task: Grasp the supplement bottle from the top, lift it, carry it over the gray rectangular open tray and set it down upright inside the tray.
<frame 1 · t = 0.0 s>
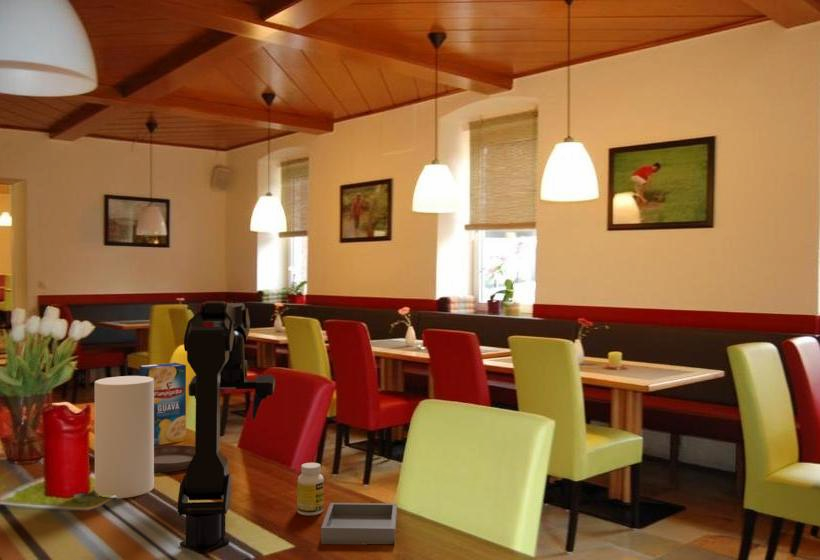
hand: (233, 419, 163), 15 cm above the table, tool pointing down, fingers open, 9 cm apart
supplement bottle: (310, 512, 147), on the table
gray rectangular open tray: (360, 530, 137), on the table
beverage box: (162, 441, 204), on the table
plant saucer: (170, 465, 181), on the table
cylinder: (124, 490, 160), on the table
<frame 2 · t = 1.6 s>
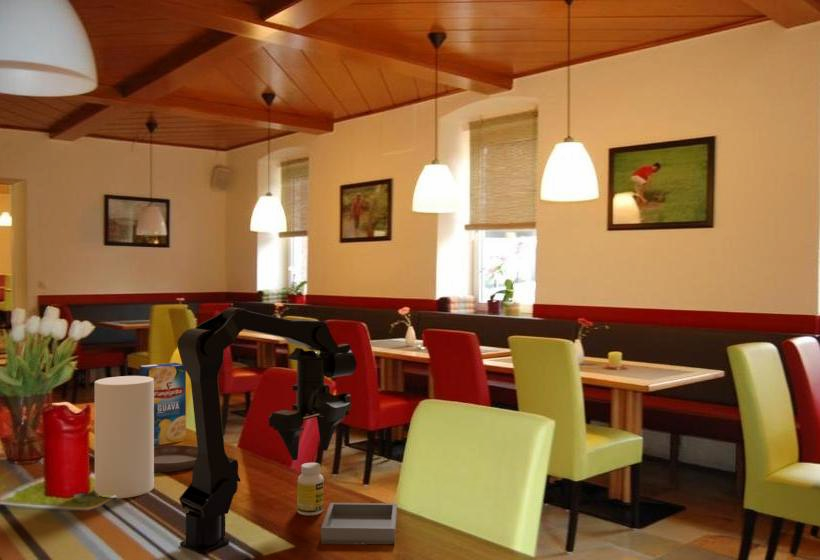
hand: (310, 455, 147), 12 cm above the table, tool pointing down, fingers open, 9 cm apart
nothing on the table moved.
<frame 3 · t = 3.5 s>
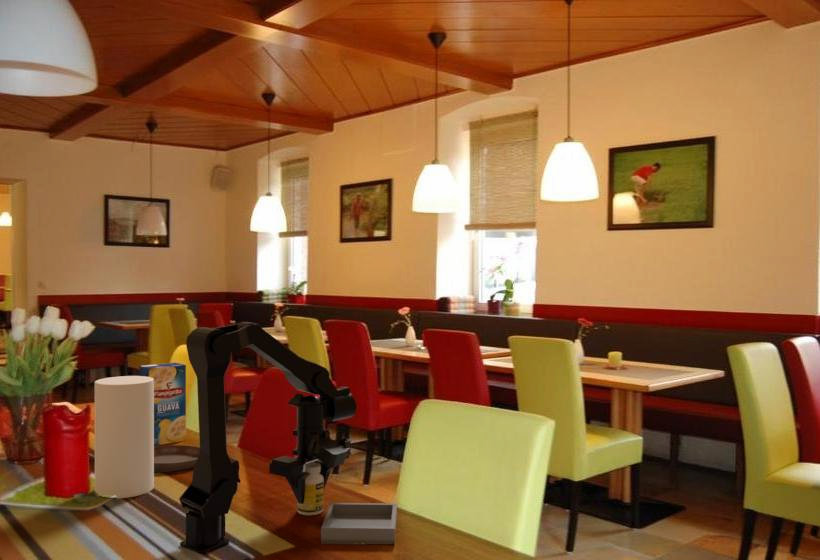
hand: (310, 499, 147), 3 cm above the table, tool pointing down, fingers closed on supplement bottle, 5 cm apart
supplement bottle: (310, 512, 147), on the table, touching gripper
everything else where it was.
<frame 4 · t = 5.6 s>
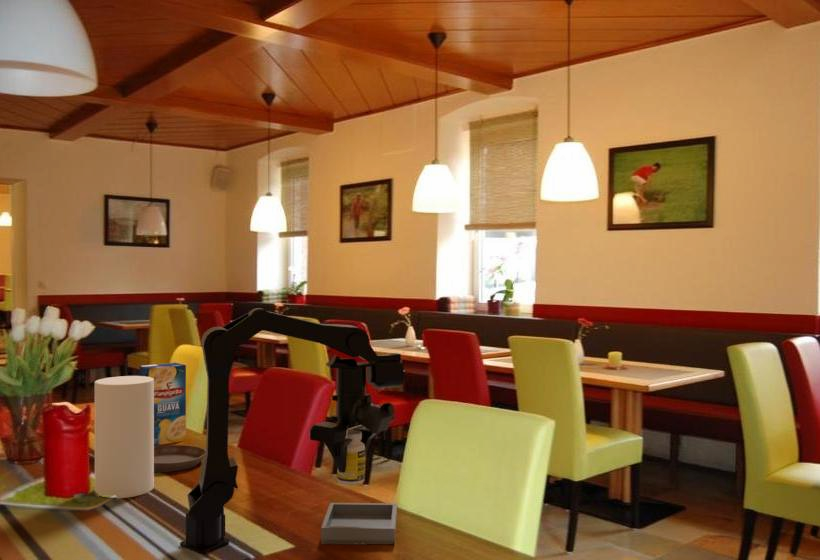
hand: (351, 468, 139), 11 cm above the table, tool pointing down, fingers closed on supplement bottle, 5 cm apart
supplement bottle: (351, 482, 139), point 9 cm above the table, touching gripper
everything else where it was.
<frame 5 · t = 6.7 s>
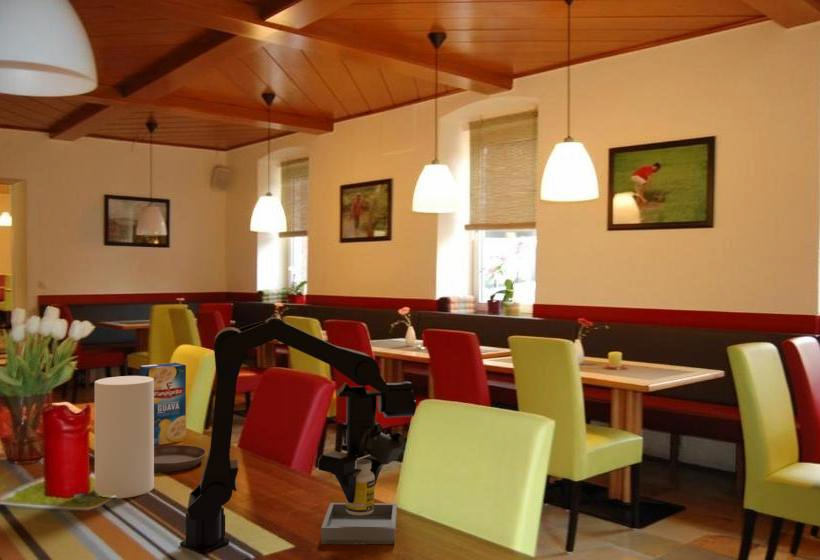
hand: (360, 498, 137), 6 cm above the table, tool pointing down, fingers closed on supplement bottle, 5 cm apart
supplement bottle: (360, 512, 137), point 4 cm above the table, touching gripper
everything else where it was.
when the fingers open (5 cm above the table, at t = 7.8 s): supplement bottle drops 1 cm, resting on gray rectangular open tray.
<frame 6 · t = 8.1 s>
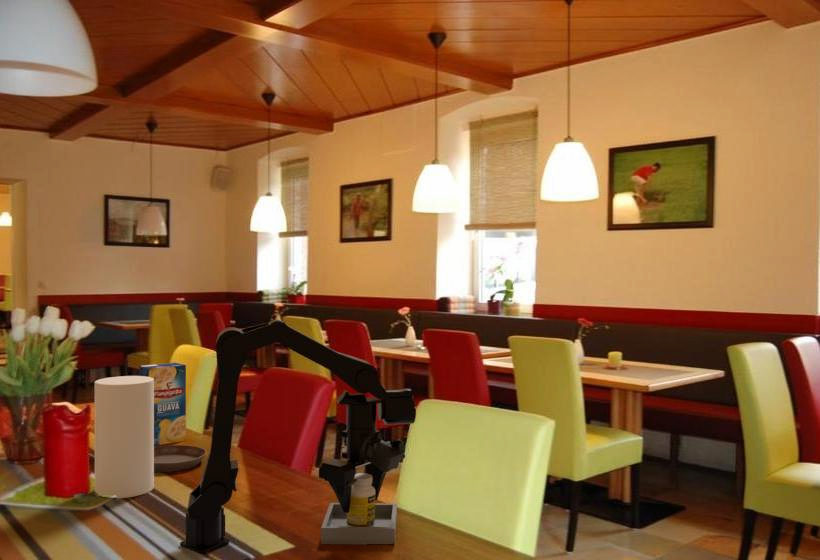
hand: (360, 505, 137), 5 cm above the table, tool pointing down, fingers open, 8 cm apart
supplement bottle: (360, 526, 137), point 1 cm above the table, touching gray rectangular open tray
everything else where it was.
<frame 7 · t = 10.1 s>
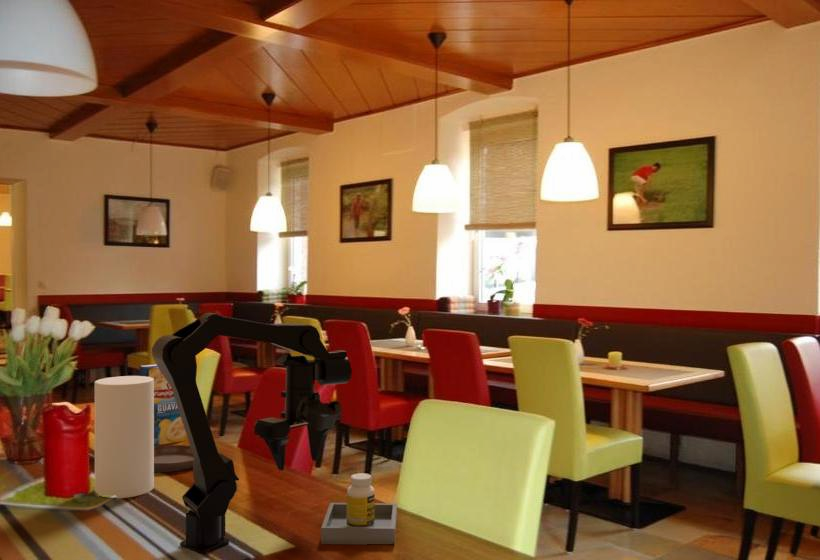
hand: (298, 465, 140), 12 cm above the table, tool pointing down, fingers open, 9 cm apart
nothing on the table moved.
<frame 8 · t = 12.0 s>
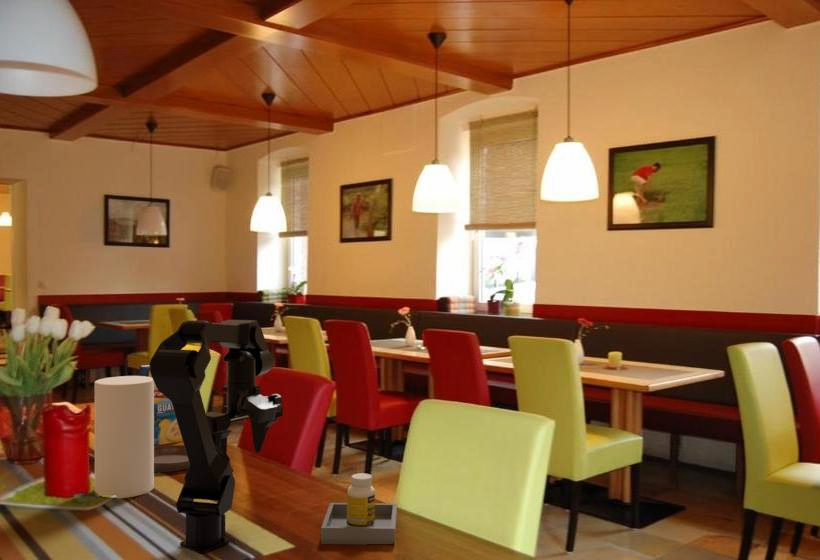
hand: (241, 457, 144), 12 cm above the table, tool pointing down, fingers open, 9 cm apart
nothing on the table moved.
at the end: supplement bottle inside the target area on the gray rectangular open tray (0.1 cm from its centre), point 0.6 cm above the gray rectangular open tray's base; supplement bottle tilted 0°; the gripper is holding nothing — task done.
